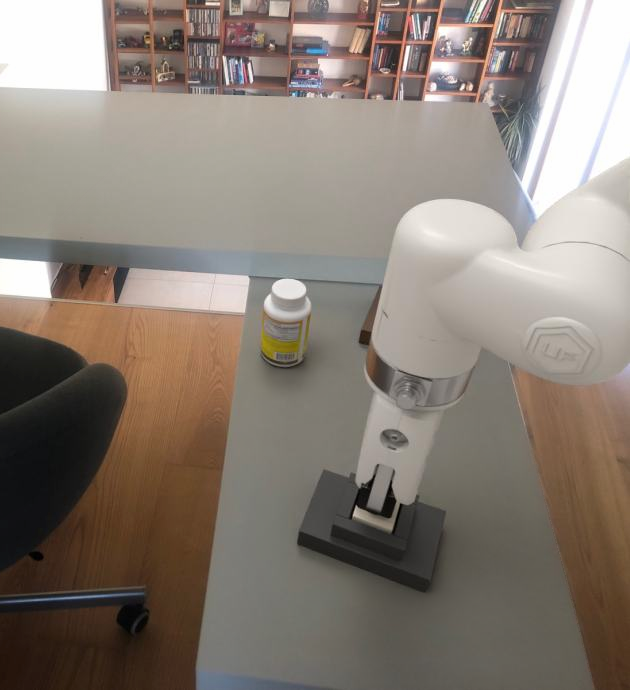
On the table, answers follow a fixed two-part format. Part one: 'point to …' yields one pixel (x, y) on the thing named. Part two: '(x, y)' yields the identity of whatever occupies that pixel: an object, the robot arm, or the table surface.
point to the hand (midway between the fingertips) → (375, 506)
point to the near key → (376, 519)
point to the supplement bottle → (285, 323)
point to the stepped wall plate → (372, 533)
